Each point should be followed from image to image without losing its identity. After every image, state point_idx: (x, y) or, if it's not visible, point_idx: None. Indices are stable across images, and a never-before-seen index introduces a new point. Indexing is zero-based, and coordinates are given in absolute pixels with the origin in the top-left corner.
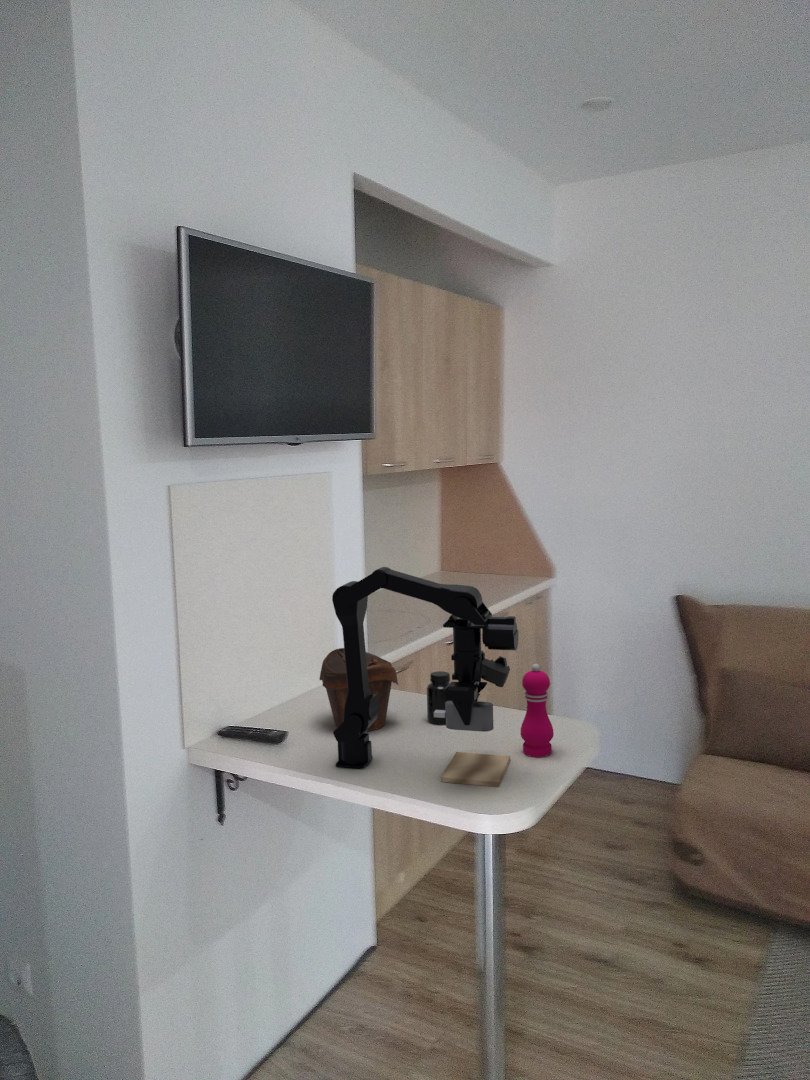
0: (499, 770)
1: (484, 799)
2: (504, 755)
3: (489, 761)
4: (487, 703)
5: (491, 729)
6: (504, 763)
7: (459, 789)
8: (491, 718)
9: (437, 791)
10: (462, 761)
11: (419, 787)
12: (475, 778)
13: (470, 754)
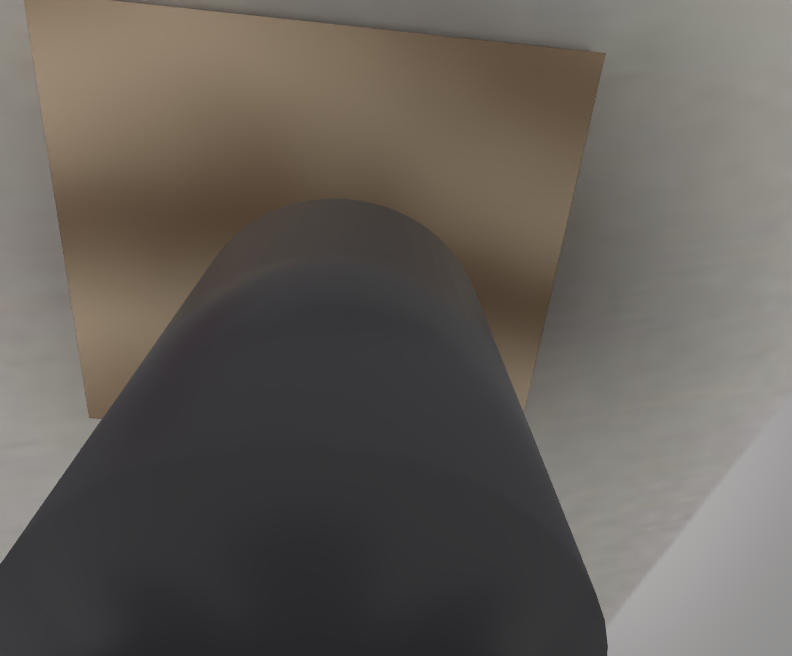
0: (373, 67)
1: (787, 139)
2: (33, 50)
3: (204, 170)
4: (133, 611)
5: (420, 225)
6: (214, 34)
7: (618, 312)
8: (429, 294)
9: (638, 419)
10: None
11: (583, 504)
12: (538, 238)
13: (106, 324)
